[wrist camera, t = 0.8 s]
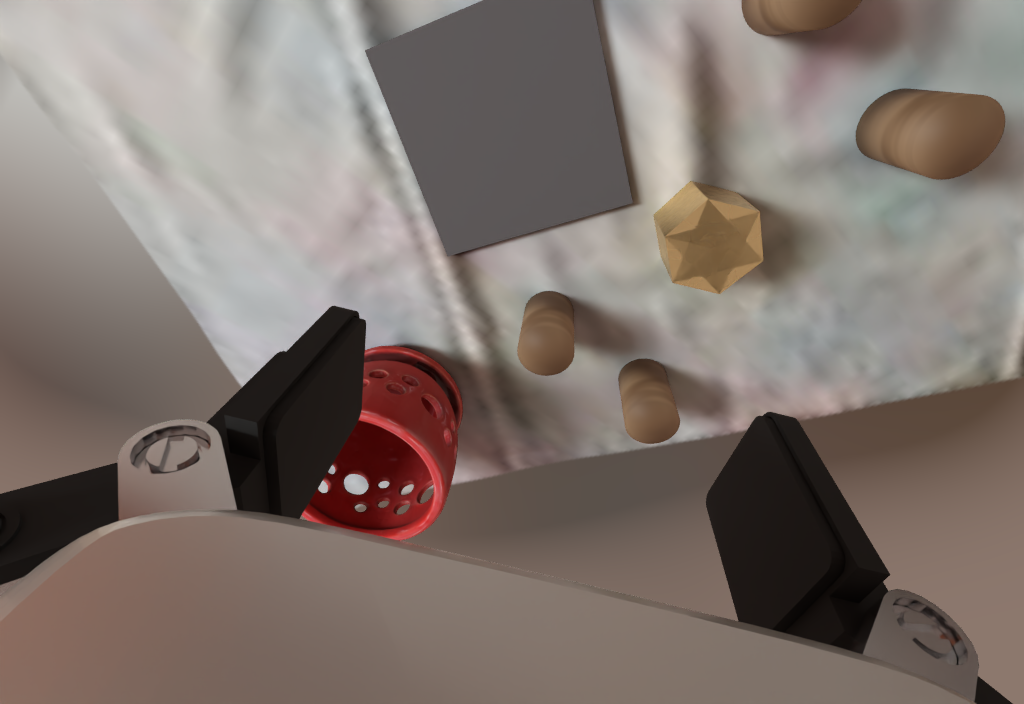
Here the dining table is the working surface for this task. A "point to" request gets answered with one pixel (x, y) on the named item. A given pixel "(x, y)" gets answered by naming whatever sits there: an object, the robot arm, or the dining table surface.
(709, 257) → the tan faceted block
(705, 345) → the dining table surface
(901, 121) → the cylinder
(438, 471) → the plant pot
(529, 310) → the cylinder
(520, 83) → the mat
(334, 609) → the robot arm
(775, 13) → the cylinder
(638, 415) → the cylinder
